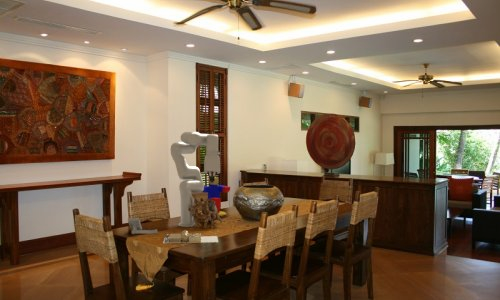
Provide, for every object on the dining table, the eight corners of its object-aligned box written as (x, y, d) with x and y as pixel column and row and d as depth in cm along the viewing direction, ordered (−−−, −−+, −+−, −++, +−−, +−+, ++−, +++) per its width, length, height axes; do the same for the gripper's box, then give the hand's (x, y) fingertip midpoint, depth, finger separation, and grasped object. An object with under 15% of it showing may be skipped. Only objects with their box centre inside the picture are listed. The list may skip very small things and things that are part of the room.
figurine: (218, 211, 354) (218, 175, 353) (232, 215, 336) (232, 177, 336) (195, 213, 341) (195, 176, 340) (208, 217, 324) (209, 179, 323)
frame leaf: (169, 237, 257) (170, 230, 257) (188, 237, 258) (188, 230, 258) (168, 242, 245) (168, 235, 245) (188, 242, 246) (188, 234, 246)
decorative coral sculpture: (225, 209, 315) (232, 208, 286) (210, 237, 310) (215, 239, 281) (195, 192, 313) (199, 190, 284) (179, 220, 307) (182, 220, 278)
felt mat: (164, 237, 258) (164, 237, 258) (217, 236, 262) (217, 236, 262) (162, 244, 243) (162, 243, 243) (218, 242, 247) (218, 242, 247)
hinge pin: (165, 237, 257) (165, 234, 257) (168, 237, 257) (168, 234, 257) (163, 242, 245) (164, 239, 244) (167, 242, 245) (167, 239, 245)
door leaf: (182, 237, 257) (182, 230, 257) (200, 237, 259) (200, 230, 259) (181, 242, 245) (181, 234, 245) (201, 242, 247) (201, 234, 247)
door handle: (130, 240, 276) (127, 230, 258) (131, 228, 280) (127, 218, 262) (158, 238, 279) (156, 229, 261) (158, 227, 282) (156, 217, 265)
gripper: (223, 153, 273) (223, 181, 274) (200, 153, 271) (200, 181, 272) (224, 154, 266) (224, 183, 266) (200, 153, 264) (200, 183, 264)
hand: (212, 182), depth 269 cm, fingers closed
